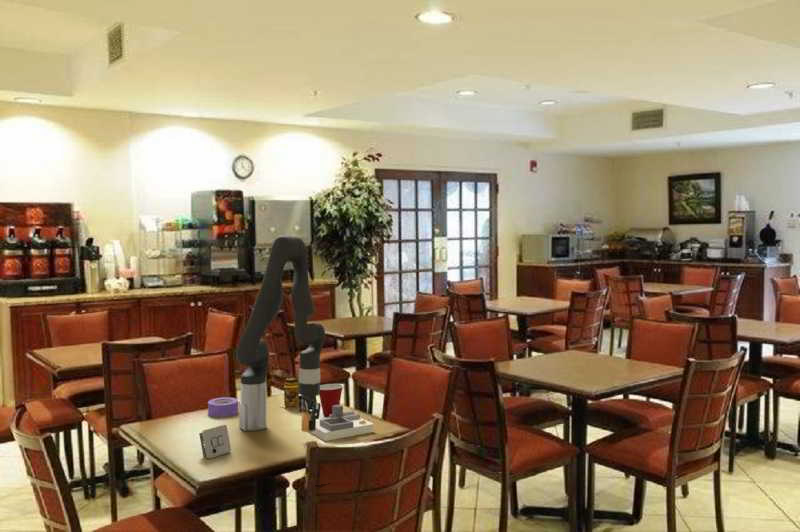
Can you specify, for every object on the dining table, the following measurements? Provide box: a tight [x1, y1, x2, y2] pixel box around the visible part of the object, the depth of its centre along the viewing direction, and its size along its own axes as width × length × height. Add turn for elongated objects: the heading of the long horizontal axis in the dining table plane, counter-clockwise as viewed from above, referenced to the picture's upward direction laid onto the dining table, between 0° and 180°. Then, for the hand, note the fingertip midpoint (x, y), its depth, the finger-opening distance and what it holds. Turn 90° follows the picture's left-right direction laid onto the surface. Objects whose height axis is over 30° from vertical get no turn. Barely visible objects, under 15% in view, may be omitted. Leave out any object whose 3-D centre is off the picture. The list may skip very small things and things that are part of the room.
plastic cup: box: [318, 383, 345, 418], centre depth 272 cm, size 11×11×12 cm
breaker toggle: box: [332, 404, 344, 418], centre depth 255 cm, size 3×3×5 cm
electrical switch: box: [198, 424, 232, 460], centre depth 225 cm, size 9×5×9 cm, turn 141°
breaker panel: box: [309, 410, 375, 442], centre depth 251 cm, size 20×16×5 cm
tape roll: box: [207, 396, 239, 418], centre depth 275 cm, size 12×12×5 cm
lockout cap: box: [300, 411, 317, 433], centre depth 239 cm, size 5×5×6 cm
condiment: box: [278, 377, 300, 411], centre depth 285 cm, size 7×8×12 cm
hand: (308, 427), depth 239 cm, fingers closed on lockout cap, 5 cm apart
